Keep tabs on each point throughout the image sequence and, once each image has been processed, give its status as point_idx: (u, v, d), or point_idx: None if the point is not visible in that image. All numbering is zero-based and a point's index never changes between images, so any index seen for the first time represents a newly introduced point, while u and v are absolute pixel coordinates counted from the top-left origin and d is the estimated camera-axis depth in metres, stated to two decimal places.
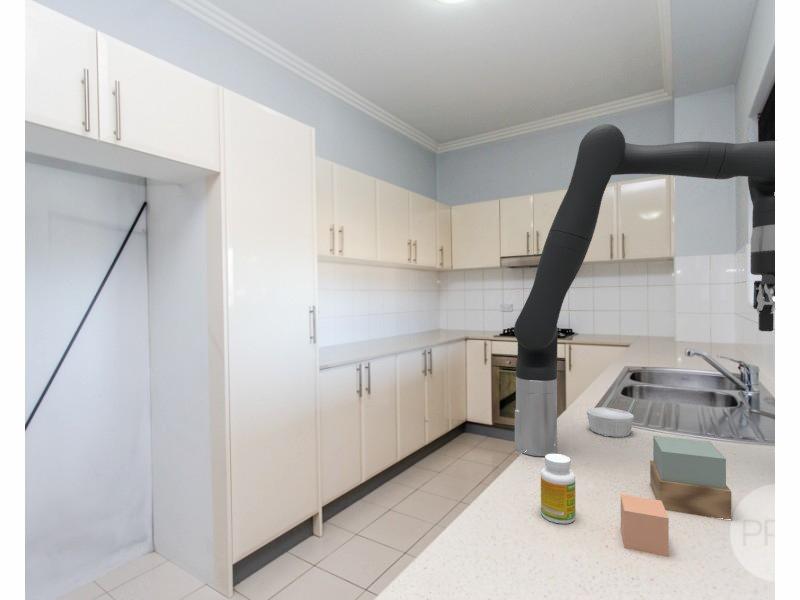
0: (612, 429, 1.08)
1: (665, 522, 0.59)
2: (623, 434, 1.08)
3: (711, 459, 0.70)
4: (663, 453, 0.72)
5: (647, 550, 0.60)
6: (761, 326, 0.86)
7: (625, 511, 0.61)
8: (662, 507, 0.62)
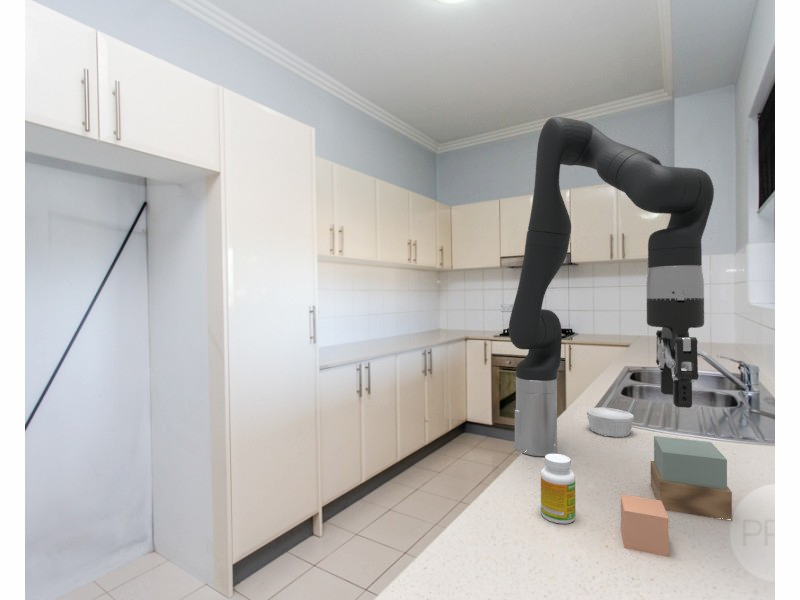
0: (612, 429, 1.08)
1: (665, 522, 0.59)
2: (623, 434, 1.08)
3: (712, 460, 0.70)
4: (664, 454, 0.72)
5: (647, 550, 0.60)
6: (663, 388, 0.70)
7: (625, 511, 0.61)
8: (662, 507, 0.62)
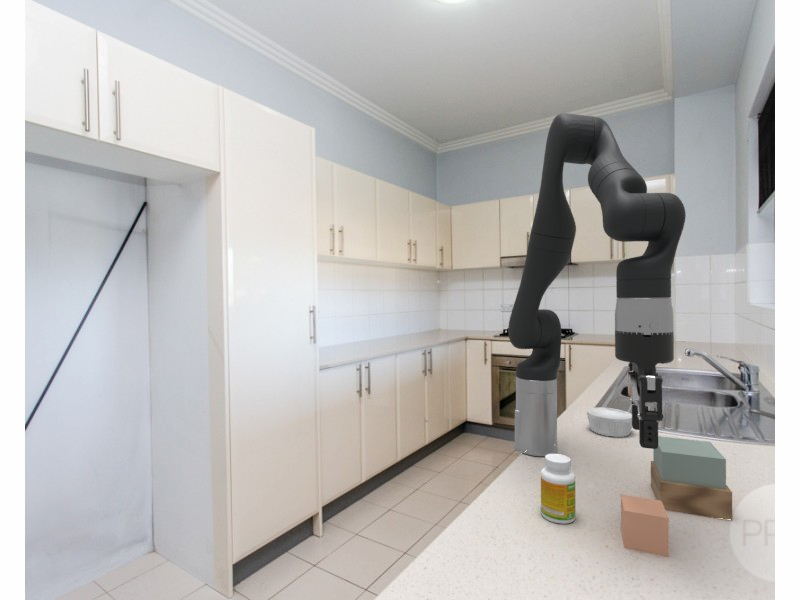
0: (612, 429, 1.08)
1: (665, 522, 0.59)
2: (623, 434, 1.08)
3: (711, 460, 0.70)
4: (663, 453, 0.72)
5: (647, 550, 0.60)
6: (634, 423, 0.66)
7: (625, 511, 0.61)
8: (662, 507, 0.62)
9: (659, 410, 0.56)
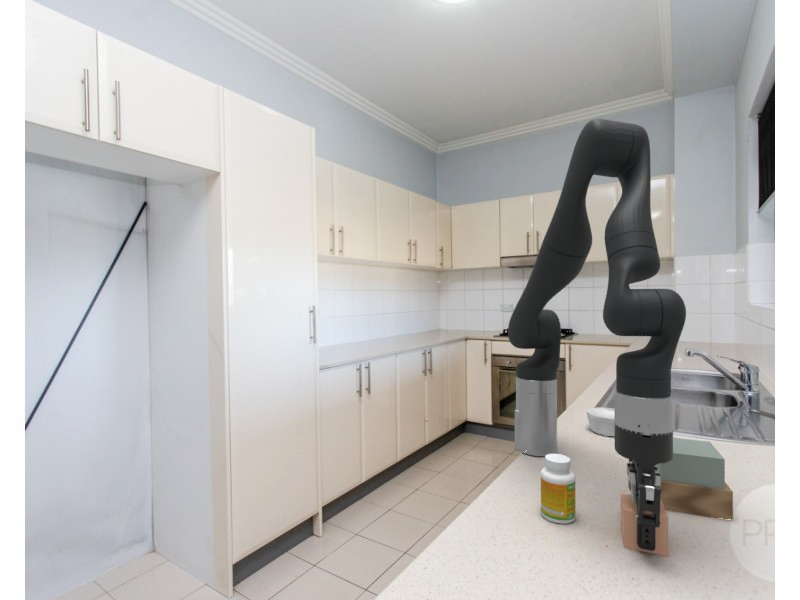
0: (612, 429, 1.08)
1: (665, 521, 0.59)
2: None
3: (710, 459, 0.70)
4: None
5: None
6: None
7: (625, 510, 0.61)
8: (662, 506, 0.62)
9: (656, 519, 0.57)
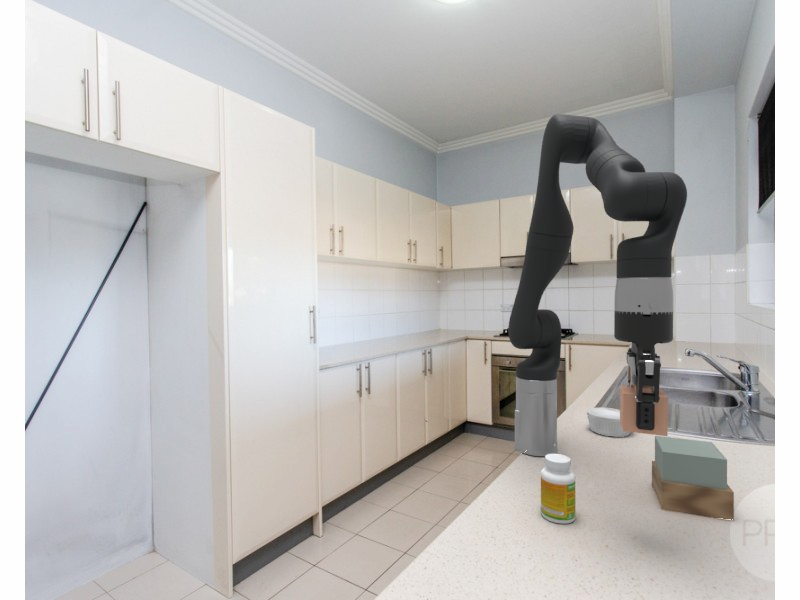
0: (612, 429, 1.08)
1: (664, 401, 0.59)
2: (623, 434, 1.08)
3: (712, 460, 0.69)
4: (664, 453, 0.72)
5: (646, 431, 0.60)
6: None
7: (624, 394, 0.61)
8: (661, 391, 0.62)
9: (656, 393, 0.56)
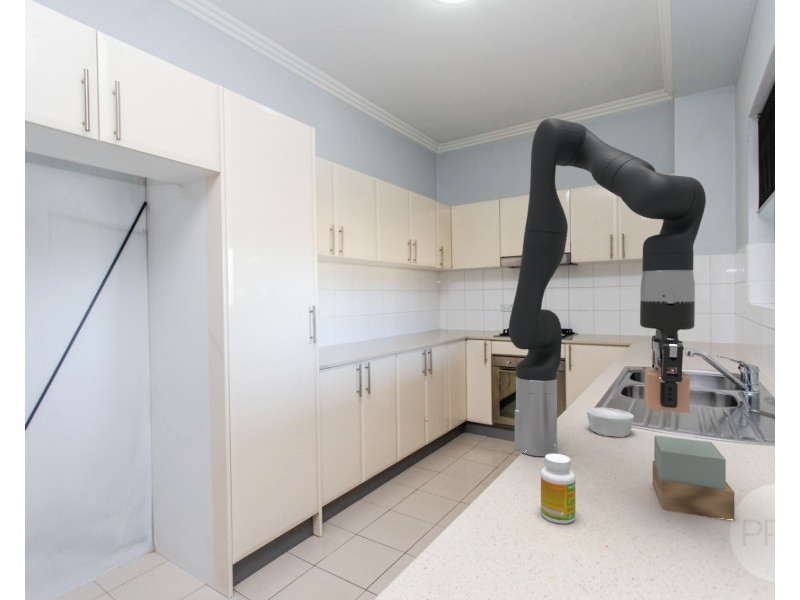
0: (612, 429, 1.08)
1: (686, 381, 0.65)
2: (623, 434, 1.08)
3: (710, 460, 0.70)
4: (662, 453, 0.72)
5: (669, 408, 0.66)
6: None
7: (649, 375, 0.68)
8: (683, 373, 0.68)
9: (679, 374, 0.63)
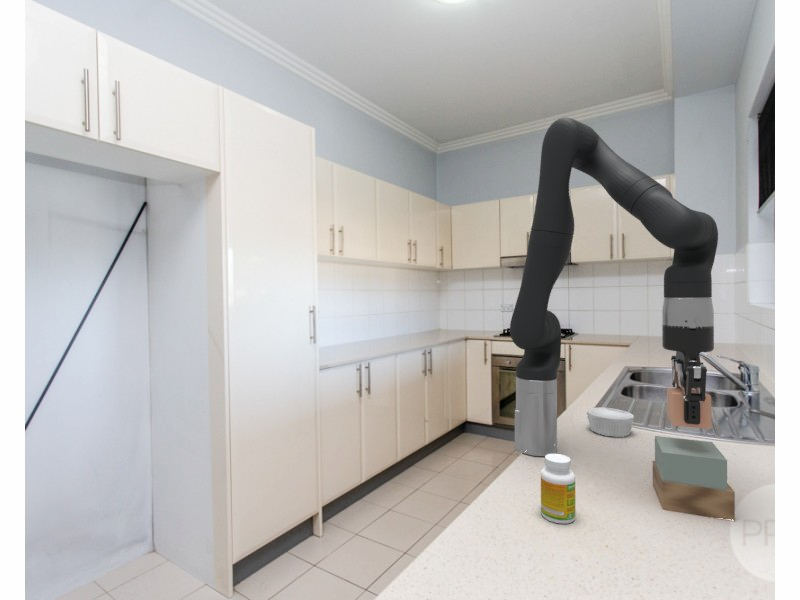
0: (612, 429, 1.08)
1: (708, 400, 0.71)
2: (623, 434, 1.08)
3: (712, 460, 0.69)
4: (664, 454, 0.72)
5: (693, 425, 0.72)
6: None
7: (674, 394, 0.73)
8: None
9: (702, 394, 0.69)
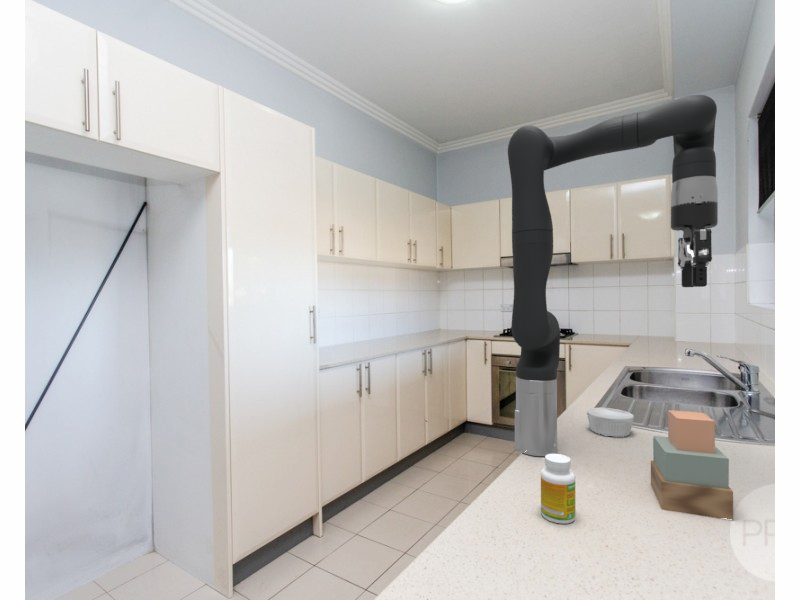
0: (612, 429, 1.08)
1: (712, 424, 0.71)
2: (623, 434, 1.08)
3: (714, 459, 0.70)
4: (666, 454, 0.72)
5: (697, 449, 0.72)
6: (683, 282, 0.86)
7: (678, 419, 0.73)
8: (706, 416, 0.74)
9: (709, 253, 0.76)
